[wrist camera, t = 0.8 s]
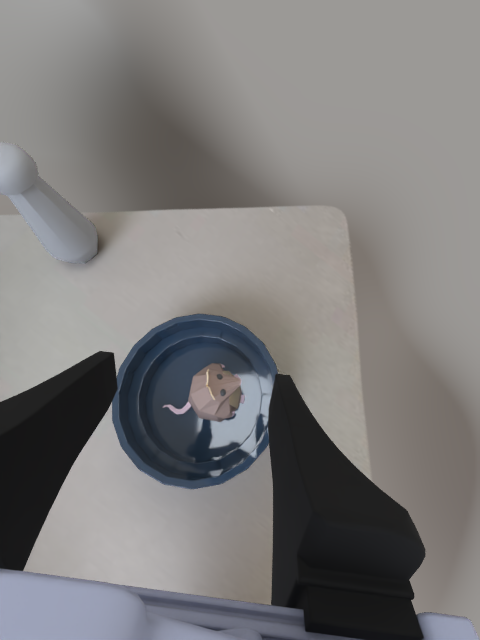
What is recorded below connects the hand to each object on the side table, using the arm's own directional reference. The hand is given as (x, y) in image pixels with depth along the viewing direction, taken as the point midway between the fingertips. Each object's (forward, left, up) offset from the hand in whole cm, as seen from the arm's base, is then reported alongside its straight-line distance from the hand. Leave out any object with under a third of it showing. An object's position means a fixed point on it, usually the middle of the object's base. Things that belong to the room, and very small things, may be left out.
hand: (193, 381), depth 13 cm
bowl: (+1, +2, -17) cm, 17 cm away
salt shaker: (+16, +20, -17) cm, 31 cm away
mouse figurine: (+1, +2, -16) cm, 16 cm away
